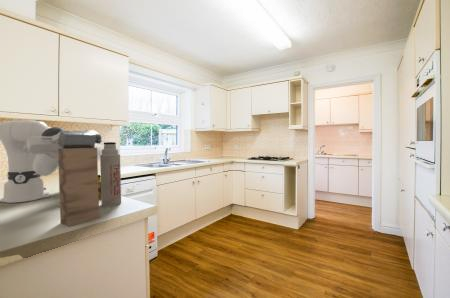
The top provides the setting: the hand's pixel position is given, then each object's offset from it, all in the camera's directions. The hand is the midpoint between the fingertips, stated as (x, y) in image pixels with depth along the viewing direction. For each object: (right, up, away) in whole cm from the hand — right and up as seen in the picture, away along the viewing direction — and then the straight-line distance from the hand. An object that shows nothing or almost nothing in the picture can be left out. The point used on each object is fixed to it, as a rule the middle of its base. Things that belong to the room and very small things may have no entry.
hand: (68, 133), depth 82 cm
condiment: (-6, -31, +25) cm, 40 cm away
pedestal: (+6, -31, -3) cm, 32 cm away
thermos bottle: (+7, -31, +18) cm, 36 cm away
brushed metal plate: (+2, -3, -1) cm, 3 cm away
